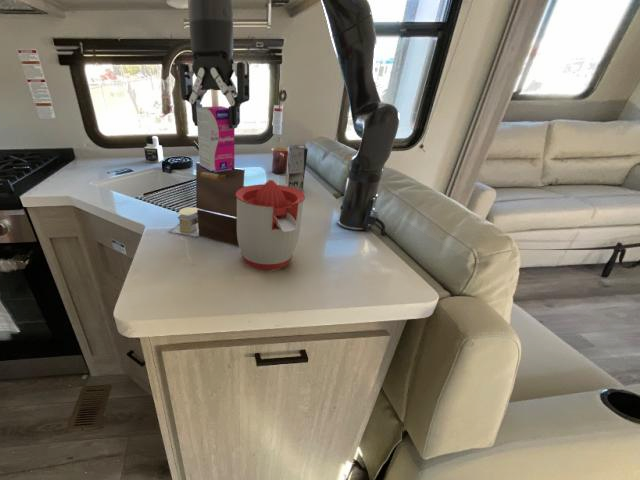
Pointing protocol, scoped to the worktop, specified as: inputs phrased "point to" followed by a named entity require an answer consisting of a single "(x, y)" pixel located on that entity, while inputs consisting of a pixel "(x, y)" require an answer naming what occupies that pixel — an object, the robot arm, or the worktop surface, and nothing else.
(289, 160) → the coffee box
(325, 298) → the worktop surface
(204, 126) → the supplement box
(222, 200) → the lid
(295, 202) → the citrus juicer
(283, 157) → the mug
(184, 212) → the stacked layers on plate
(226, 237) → the chest
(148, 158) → the medicine bottle
